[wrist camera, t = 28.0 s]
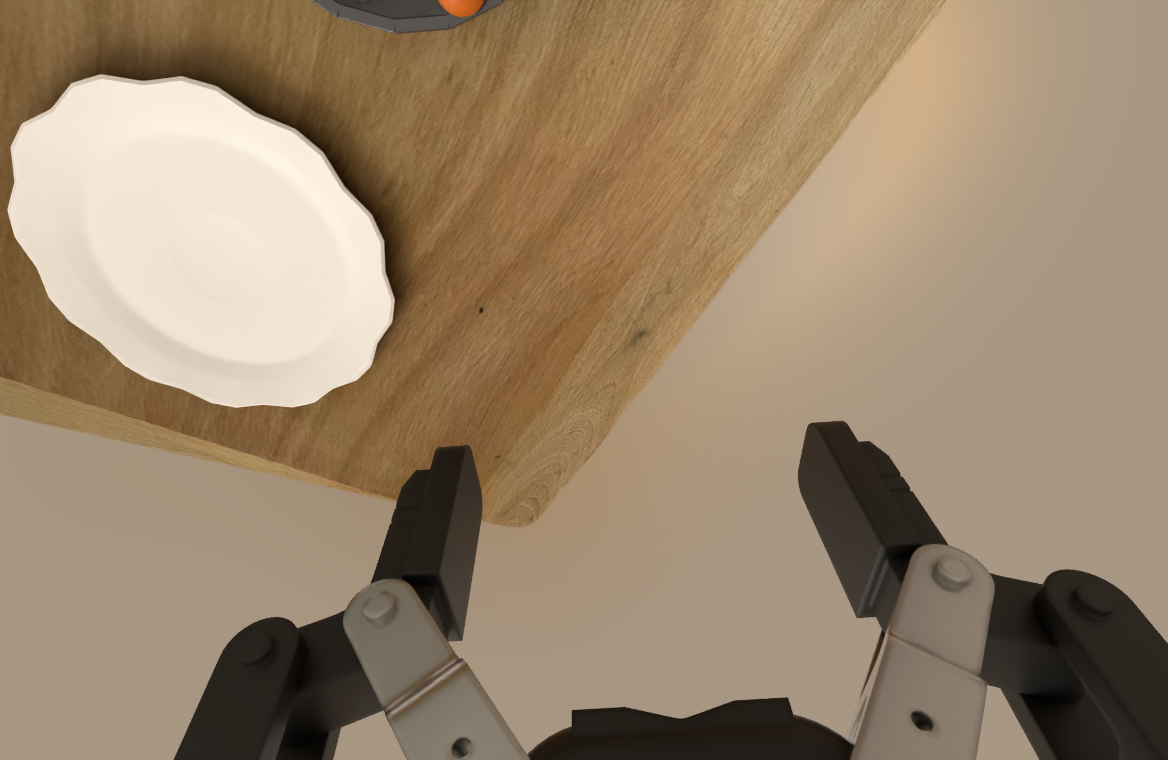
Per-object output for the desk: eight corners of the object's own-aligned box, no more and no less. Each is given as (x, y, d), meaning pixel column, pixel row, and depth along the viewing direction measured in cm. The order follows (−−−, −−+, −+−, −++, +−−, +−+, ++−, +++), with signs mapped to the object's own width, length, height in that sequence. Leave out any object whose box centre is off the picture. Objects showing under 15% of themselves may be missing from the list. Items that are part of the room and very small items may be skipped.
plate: (207, -16, 33) (190, -16, 32) (462, 315, 46) (458, 327, 45) (-54, 195, 39) (-78, 204, 38) (236, 435, 52) (226, 449, 51)
